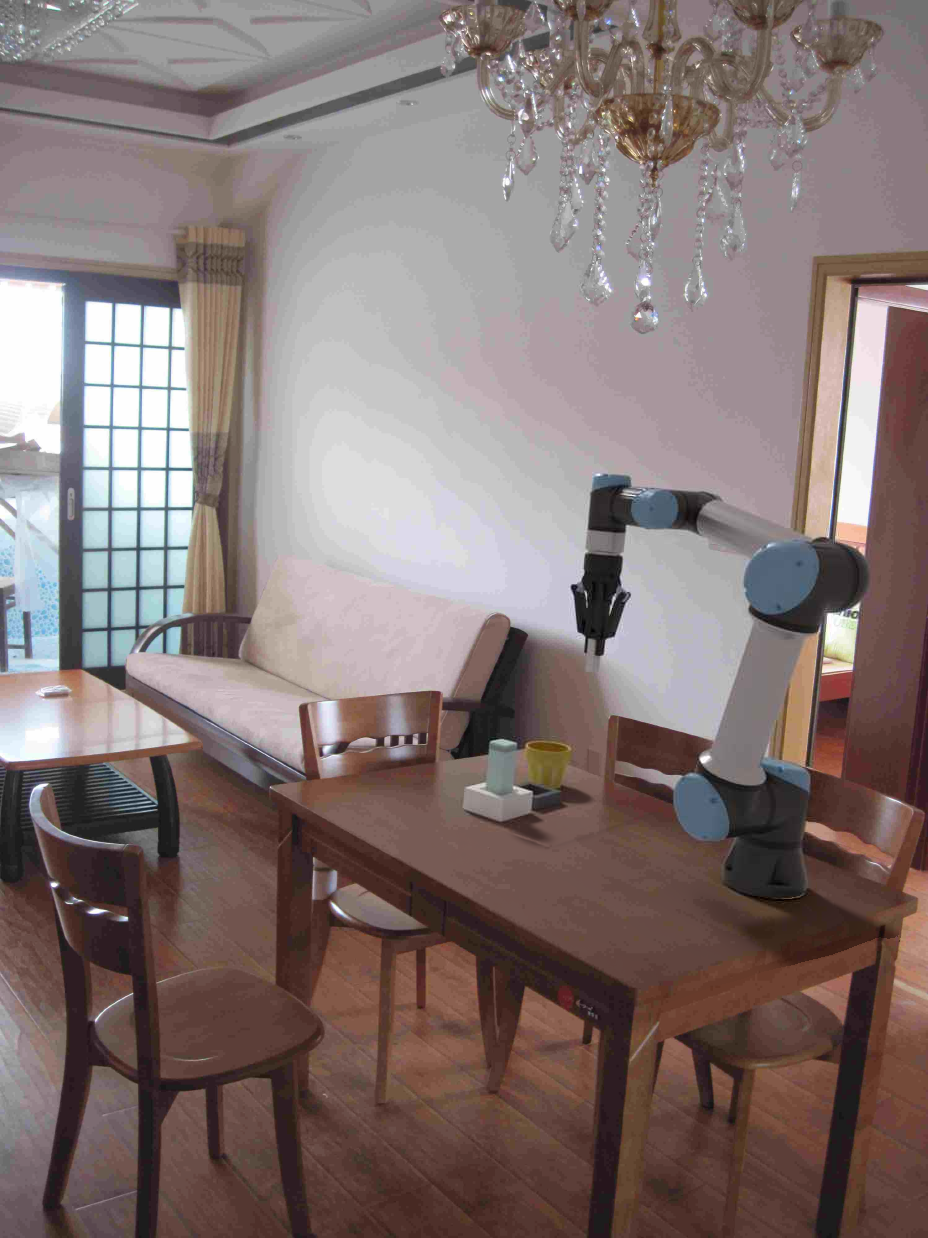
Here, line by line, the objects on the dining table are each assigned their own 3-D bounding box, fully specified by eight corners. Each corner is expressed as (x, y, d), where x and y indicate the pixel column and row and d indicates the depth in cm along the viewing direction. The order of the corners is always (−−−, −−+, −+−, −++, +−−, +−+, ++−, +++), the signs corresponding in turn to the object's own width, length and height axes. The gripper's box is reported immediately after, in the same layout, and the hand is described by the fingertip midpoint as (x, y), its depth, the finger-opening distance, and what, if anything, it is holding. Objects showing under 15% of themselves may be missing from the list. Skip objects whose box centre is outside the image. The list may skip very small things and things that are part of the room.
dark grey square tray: (560, 804, 246) (562, 791, 246) (535, 812, 240) (537, 798, 239) (527, 794, 252) (528, 781, 252) (502, 801, 245) (503, 787, 245)
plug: (511, 809, 237) (517, 743, 235) (498, 812, 234) (505, 745, 232) (495, 804, 239) (501, 738, 238) (483, 807, 236) (489, 741, 234)
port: (530, 815, 237) (533, 788, 237) (500, 824, 230) (503, 797, 229) (493, 802, 244) (495, 777, 243) (462, 811, 236) (465, 784, 235)
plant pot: (513, 782, 262) (517, 740, 261) (553, 780, 266) (557, 739, 265) (535, 796, 253) (539, 753, 251) (575, 794, 257) (580, 751, 256)
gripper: (642, 556, 224) (630, 675, 227) (587, 548, 232) (575, 663, 235) (622, 557, 218) (609, 678, 221) (566, 549, 226) (554, 666, 229)
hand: (592, 671), depth 228 cm, fingers closed
